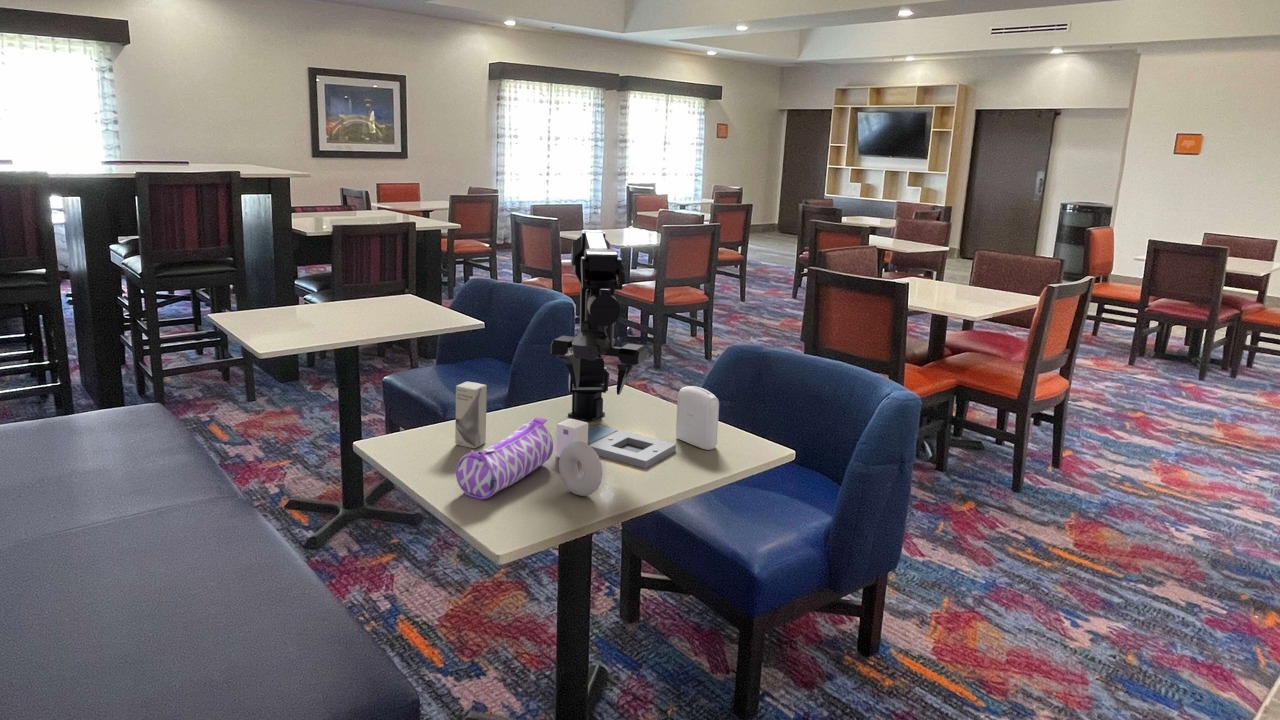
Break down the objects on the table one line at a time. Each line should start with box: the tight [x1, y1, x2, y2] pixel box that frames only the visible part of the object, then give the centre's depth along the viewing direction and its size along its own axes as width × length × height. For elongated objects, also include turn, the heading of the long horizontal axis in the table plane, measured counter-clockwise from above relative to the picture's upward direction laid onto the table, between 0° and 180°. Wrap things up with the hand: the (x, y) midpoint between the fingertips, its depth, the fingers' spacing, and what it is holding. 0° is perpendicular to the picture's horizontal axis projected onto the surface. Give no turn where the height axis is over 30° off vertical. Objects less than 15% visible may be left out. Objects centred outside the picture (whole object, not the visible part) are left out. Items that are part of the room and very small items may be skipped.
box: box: [454, 381, 488, 449], centre depth 171 cm, size 5×4×13 cm
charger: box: [555, 417, 589, 459], centre depth 167 cm, size 4×4×7 cm
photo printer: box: [675, 385, 720, 451], centre depth 177 cm, size 10×4×12 cm, turn 39°
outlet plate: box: [589, 429, 677, 469], centre depth 172 cm, size 14×12×2 cm
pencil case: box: [455, 417, 554, 500], centre depth 154 cm, size 22×9×10 cm, turn 156°
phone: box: [588, 424, 620, 445], centre depth 179 cm, size 6×11×1 cm, turn 148°
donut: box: [558, 441, 603, 497], centre depth 149 cm, size 10×4×10 cm, turn 47°
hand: (597, 391), depth 167 cm, fingers open, 9 cm apart
